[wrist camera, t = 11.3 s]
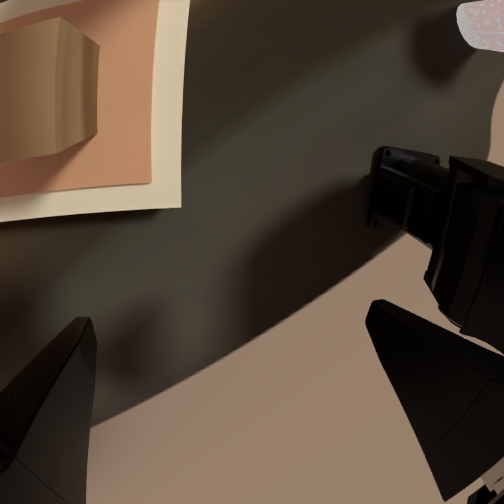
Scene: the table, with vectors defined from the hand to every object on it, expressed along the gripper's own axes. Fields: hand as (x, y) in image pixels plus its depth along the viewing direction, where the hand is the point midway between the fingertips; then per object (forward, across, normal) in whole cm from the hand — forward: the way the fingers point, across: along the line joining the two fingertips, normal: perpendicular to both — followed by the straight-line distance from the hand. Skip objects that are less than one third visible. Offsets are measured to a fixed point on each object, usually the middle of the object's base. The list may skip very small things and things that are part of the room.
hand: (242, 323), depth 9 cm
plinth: (+12, +8, -7) cm, 16 cm away
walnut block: (+8, +8, -7) cm, 14 cm away
